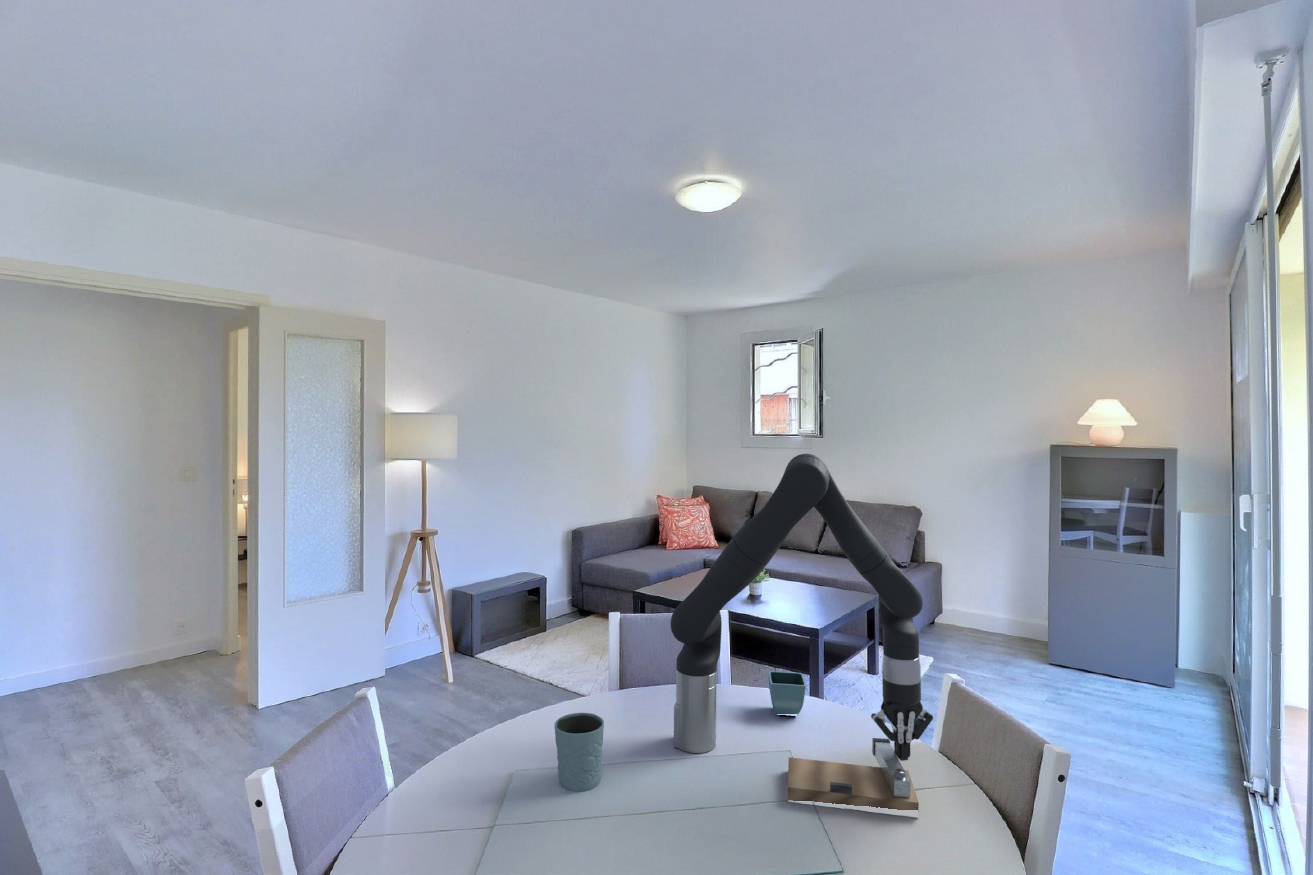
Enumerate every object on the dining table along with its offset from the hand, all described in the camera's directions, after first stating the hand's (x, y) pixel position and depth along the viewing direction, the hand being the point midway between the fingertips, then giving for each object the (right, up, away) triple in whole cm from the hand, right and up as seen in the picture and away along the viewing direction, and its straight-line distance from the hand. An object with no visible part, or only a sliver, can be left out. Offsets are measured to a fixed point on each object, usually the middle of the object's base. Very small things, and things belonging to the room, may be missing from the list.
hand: (902, 758), depth 140 cm
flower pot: (-18, -4, +31) cm, 36 cm away
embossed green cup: (-67, -4, -2) cm, 67 cm away
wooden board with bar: (-13, -4, -6) cm, 15 cm away
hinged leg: (-4, -1, -4) cm, 6 cm away
